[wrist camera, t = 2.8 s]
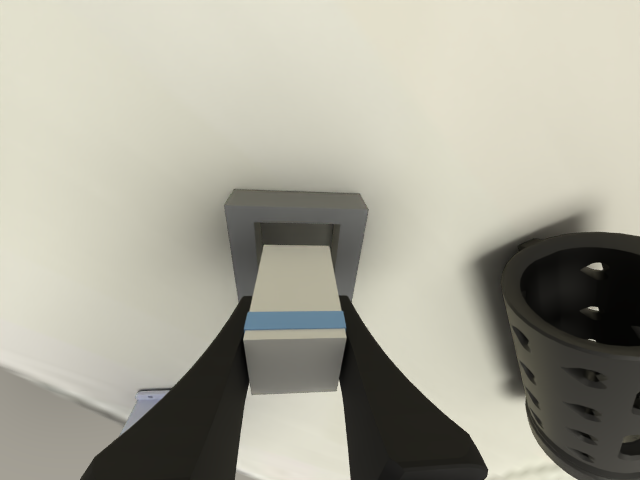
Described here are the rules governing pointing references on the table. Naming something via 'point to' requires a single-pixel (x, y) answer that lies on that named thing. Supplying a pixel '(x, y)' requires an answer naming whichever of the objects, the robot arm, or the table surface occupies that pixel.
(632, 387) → the muzzle brake
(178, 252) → the table surface
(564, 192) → the table surface
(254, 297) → the grey plug
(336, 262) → the socket board
